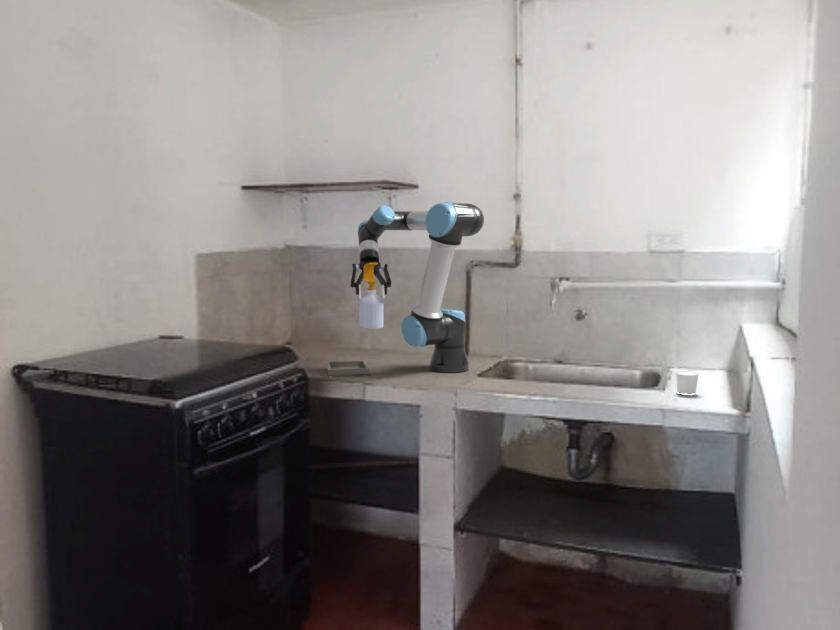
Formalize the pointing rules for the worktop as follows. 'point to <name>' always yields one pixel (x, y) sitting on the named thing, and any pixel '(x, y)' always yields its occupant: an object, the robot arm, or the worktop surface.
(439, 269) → the robot arm
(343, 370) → the tray
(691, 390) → the white cup
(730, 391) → the worktop surface
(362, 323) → the soap bottle
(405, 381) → the worktop surface
